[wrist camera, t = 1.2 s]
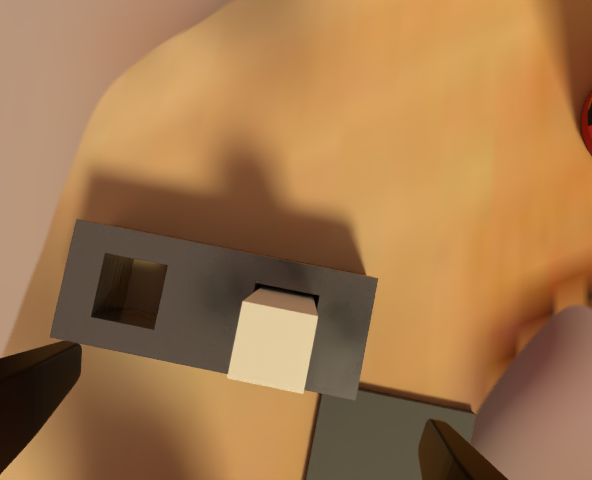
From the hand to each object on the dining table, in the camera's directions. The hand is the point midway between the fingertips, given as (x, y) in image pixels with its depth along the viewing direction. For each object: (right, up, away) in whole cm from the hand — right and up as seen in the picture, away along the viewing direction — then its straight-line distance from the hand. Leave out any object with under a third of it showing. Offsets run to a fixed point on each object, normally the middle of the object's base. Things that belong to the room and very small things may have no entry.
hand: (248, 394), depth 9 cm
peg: (0, -1, +14) cm, 14 cm away
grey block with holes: (-4, 0, +14) cm, 15 cm away
